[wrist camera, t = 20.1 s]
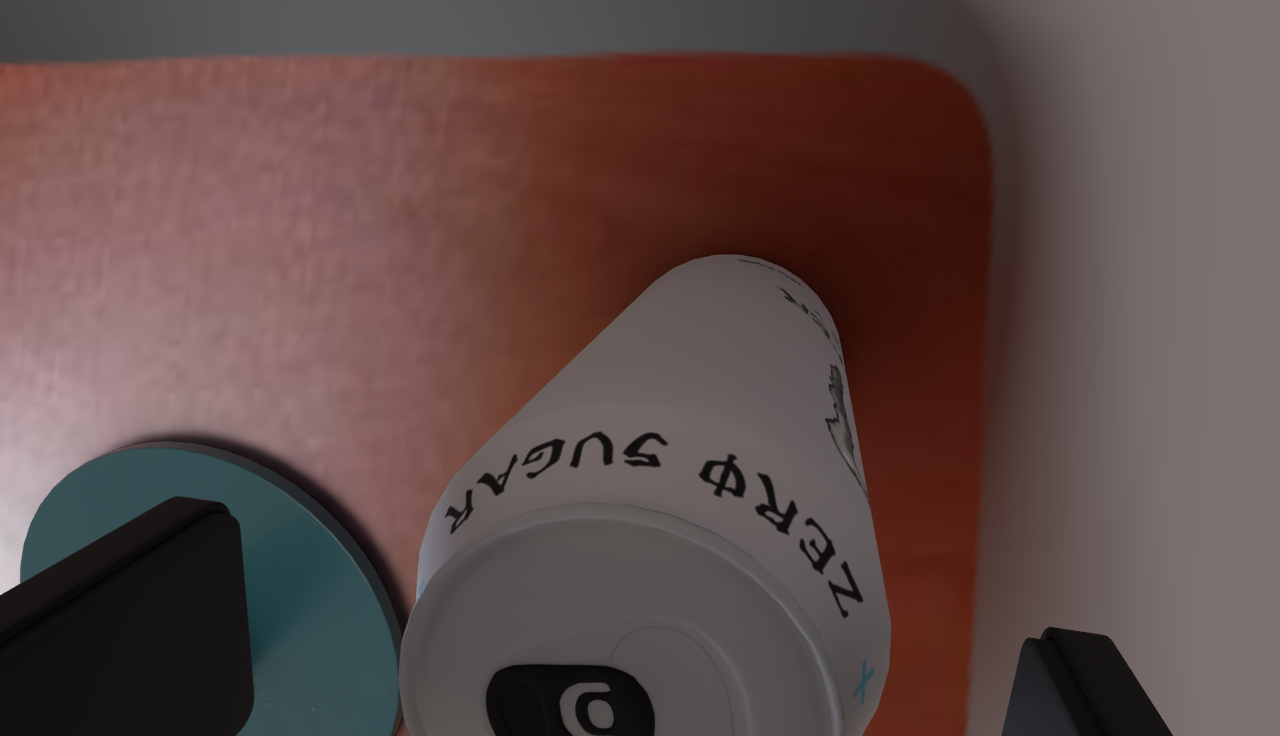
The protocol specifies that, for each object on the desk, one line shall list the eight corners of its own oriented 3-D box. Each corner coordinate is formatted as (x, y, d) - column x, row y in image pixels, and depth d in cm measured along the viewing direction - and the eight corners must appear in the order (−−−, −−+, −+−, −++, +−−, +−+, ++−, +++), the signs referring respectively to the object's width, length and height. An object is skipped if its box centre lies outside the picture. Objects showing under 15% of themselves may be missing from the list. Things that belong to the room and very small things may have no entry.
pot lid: (411, 465, 26) (256, 595, 18) (419, 830, 30) (294, 1053, 23) (20, 409, 28) (-253, 504, 21) (77, 754, 32) (-134, 933, 25)
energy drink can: (849, 450, 23) (924, 966, 9) (641, 462, 24) (409, 925, 10) (832, 236, 21) (889, 432, 7) (611, 262, 23) (289, 469, 8)
